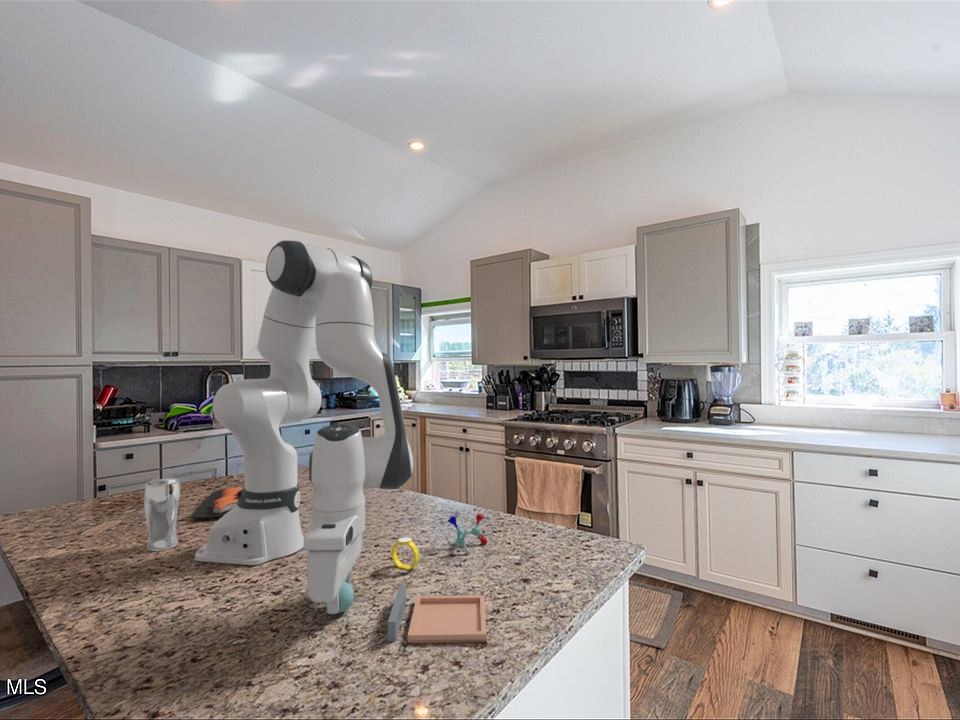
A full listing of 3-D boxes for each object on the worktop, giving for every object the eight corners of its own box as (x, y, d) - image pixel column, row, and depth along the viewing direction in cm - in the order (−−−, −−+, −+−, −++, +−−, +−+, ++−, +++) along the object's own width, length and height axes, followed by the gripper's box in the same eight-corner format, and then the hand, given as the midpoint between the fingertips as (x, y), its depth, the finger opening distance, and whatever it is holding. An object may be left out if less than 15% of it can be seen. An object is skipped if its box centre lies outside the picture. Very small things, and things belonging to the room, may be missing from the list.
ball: (319, 619, 79) (319, 589, 79) (328, 604, 84) (328, 576, 84) (349, 619, 79) (349, 588, 79) (357, 604, 84) (356, 575, 84)
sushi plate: (214, 495, 154) (214, 483, 154) (312, 487, 163) (312, 476, 163) (189, 525, 126) (189, 510, 126) (309, 514, 135) (308, 500, 135)
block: (387, 641, 73) (387, 621, 73) (399, 601, 85) (399, 584, 85) (395, 641, 73) (395, 621, 73) (406, 601, 85) (406, 584, 85)
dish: (407, 643, 72) (407, 635, 72) (416, 602, 84) (416, 596, 84) (486, 642, 72) (486, 634, 72) (484, 601, 84) (484, 595, 84)
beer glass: (187, 543, 112) (187, 479, 112) (156, 554, 106) (156, 487, 106) (168, 538, 115) (168, 476, 115) (137, 549, 109) (137, 483, 109)
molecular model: (485, 544, 102) (467, 500, 106) (448, 563, 103) (432, 519, 107) (501, 541, 112) (485, 501, 116) (467, 558, 114) (452, 518, 118)
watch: (390, 569, 99) (388, 540, 99) (398, 564, 101) (396, 535, 101) (414, 572, 96) (412, 542, 96) (421, 567, 98) (420, 538, 99)
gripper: (337, 503, 92) (337, 574, 92) (299, 544, 71) (299, 636, 71) (370, 502, 92) (370, 574, 92) (341, 543, 71) (341, 635, 71)
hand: (339, 601), depth 81 cm, fingers closed on ball, 5 cm apart
